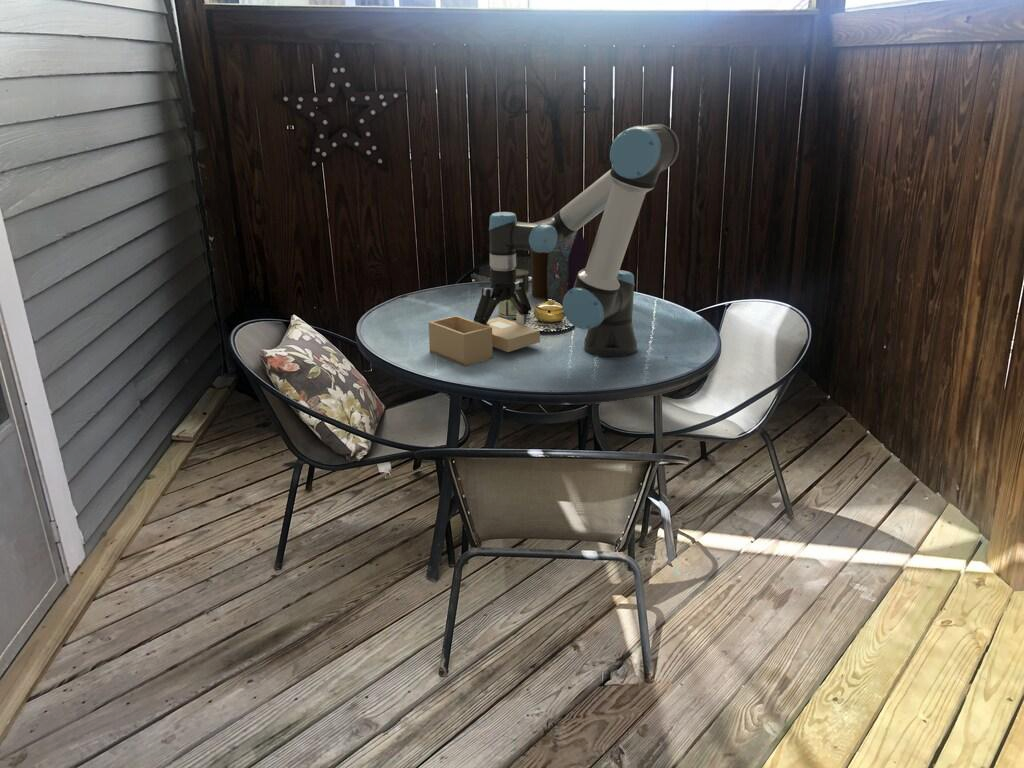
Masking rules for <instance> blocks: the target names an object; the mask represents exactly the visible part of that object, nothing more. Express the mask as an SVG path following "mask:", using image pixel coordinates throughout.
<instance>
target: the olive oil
mask: <svg viewBox="0 0 1024 768" xmlns="http://www.w3.org/2000/svg"><path fill="white" fill-rule="evenodd" d="M530 265H531V266H530V268H531V269H530V271H531V295H532V296H533V297H536V298H539V299H540V298H542V299H547V266H548V253H545V252H541V253H538V252H534V251H530Z"/></svg>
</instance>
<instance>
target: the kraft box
mask: <svg viewBox="0 0 1024 768" xmlns="http://www.w3.org/2000/svg"><path fill="white" fill-rule="evenodd" d="M428 340H429V341H428V342H429V343H428V344H429V346H428V347H429V353H430V354H433V355H436V356H437V357H440V358H443V359H444V360H445V359H446V360H448V361H450V362H452V363H455V364H458V365H460V366H463V367H467V366H471V365H474V364H477V363H480V362H484V361H488V360H492V359H493V346H492V327H489V326H486V325H483V324H480V323H478V322H475V321H474V320H471V319H468V318H465V317H462V316H460V315H454V316H449V317H444V318H441V319H439V318H438V319H436V320H432V321H428Z"/></svg>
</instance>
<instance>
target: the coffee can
mask: <svg viewBox="0 0 1024 768" xmlns="http://www.w3.org/2000/svg"><path fill="white" fill-rule="evenodd" d="M515 269H516V281H520V282H523V283H524V290H525V293H526V296H527V298H528V301H529V299H530V298H529V291H530V290H529V285H530V284H529V283H530V281H529V275H530V271H528V270H526V269H522V268H515ZM514 293H515V294H516V296H517V298H518V300H519V301H520V299H519V297H518V294H517V292H516V289H515V290H514ZM529 302H530V301H529ZM497 312H498V313H497V315H498V317H500V318H504V319H506V318H507V319H516V318H515V317H516V314H517V313H519V312H518V310H517V309H516V308H515V306H514V305H513V304H512V302H511V301H510V300H504V301H500V303H499V304H497ZM528 312H529V313H530V311H528Z"/></svg>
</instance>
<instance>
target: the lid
mask: <svg viewBox="0 0 1024 768" xmlns="http://www.w3.org/2000/svg"><path fill="white" fill-rule="evenodd" d="M487 323H489V324H490V327H492V348H493V347H494V348H496V349H499V350H501V351H505V352H507V353H509V352H513V351H516V350H519V349H523V348H526V347H529V346H532V345H535V344H539V343H541V330H540V329H538V328H534V327H532V326H528V325H526V324H524V325H522V324H519V323H516V322H515V321H512V320H509V319H506V318H504V317H501V316H498V317H493V318H489V320H488V322H487Z"/></svg>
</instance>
